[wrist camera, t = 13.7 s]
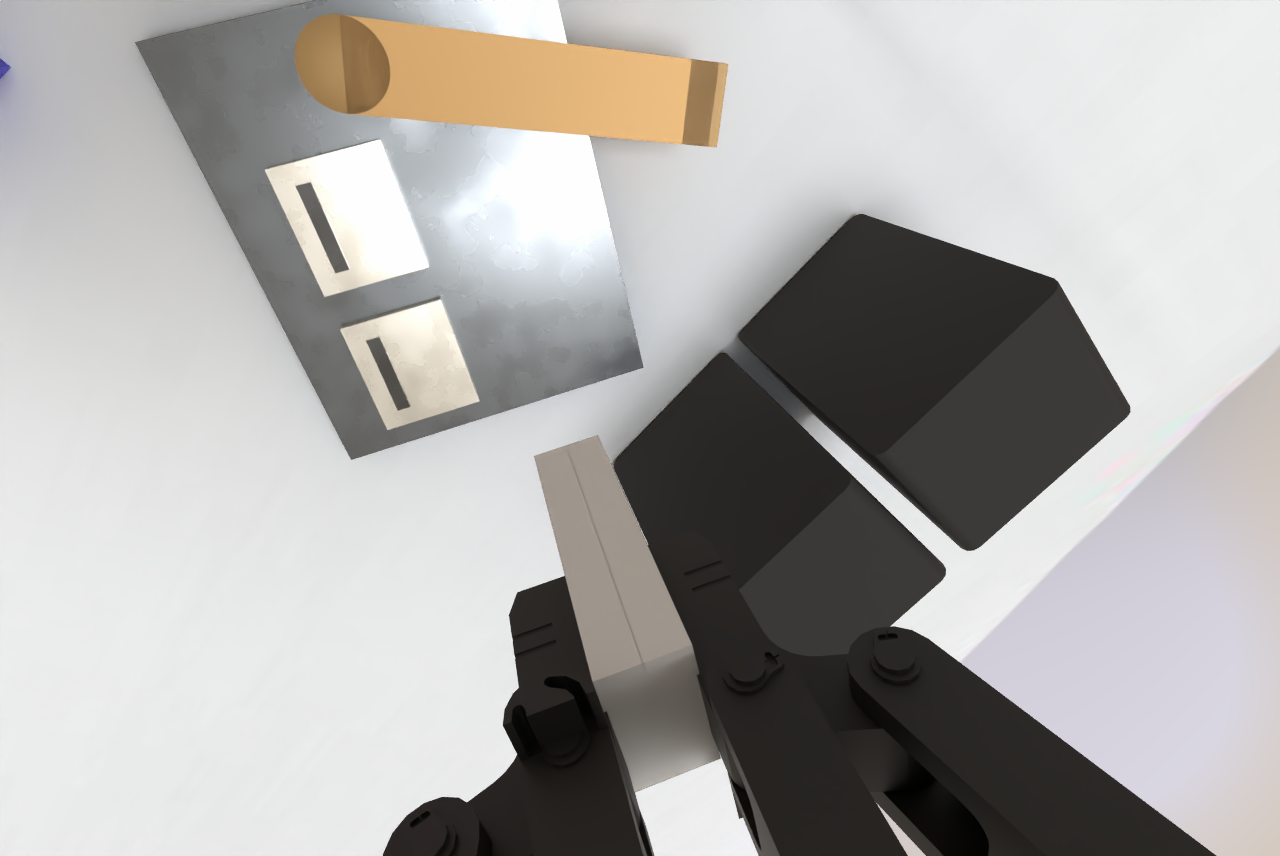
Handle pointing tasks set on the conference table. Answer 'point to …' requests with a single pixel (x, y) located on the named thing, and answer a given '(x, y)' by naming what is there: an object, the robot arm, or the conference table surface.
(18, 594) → the conference table surface
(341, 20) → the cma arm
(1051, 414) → the speaker
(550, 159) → the server board
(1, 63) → the stapler
